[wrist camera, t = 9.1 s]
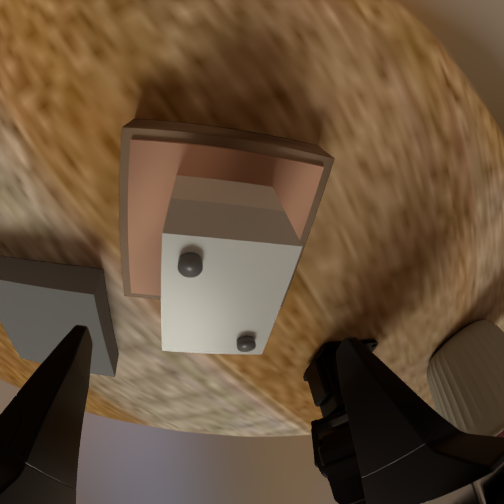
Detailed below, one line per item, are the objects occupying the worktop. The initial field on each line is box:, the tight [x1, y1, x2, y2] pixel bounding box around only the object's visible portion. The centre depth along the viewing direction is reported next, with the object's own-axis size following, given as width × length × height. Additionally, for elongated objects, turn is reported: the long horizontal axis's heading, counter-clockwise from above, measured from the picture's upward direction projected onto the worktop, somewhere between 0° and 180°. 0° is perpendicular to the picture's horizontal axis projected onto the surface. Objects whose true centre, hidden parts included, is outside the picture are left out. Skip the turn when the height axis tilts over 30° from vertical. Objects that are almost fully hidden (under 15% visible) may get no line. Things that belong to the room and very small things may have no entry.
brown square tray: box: [119, 119, 334, 307], centre depth 16 cm, size 10×10×2 cm
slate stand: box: [0, 256, 119, 377], centre depth 18 cm, size 10×10×2 cm
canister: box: [427, 320, 504, 437], centre depth 26 cm, size 18×18×21 cm
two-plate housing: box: [161, 175, 302, 354], centre depth 13 cm, size 6×4×5 cm
